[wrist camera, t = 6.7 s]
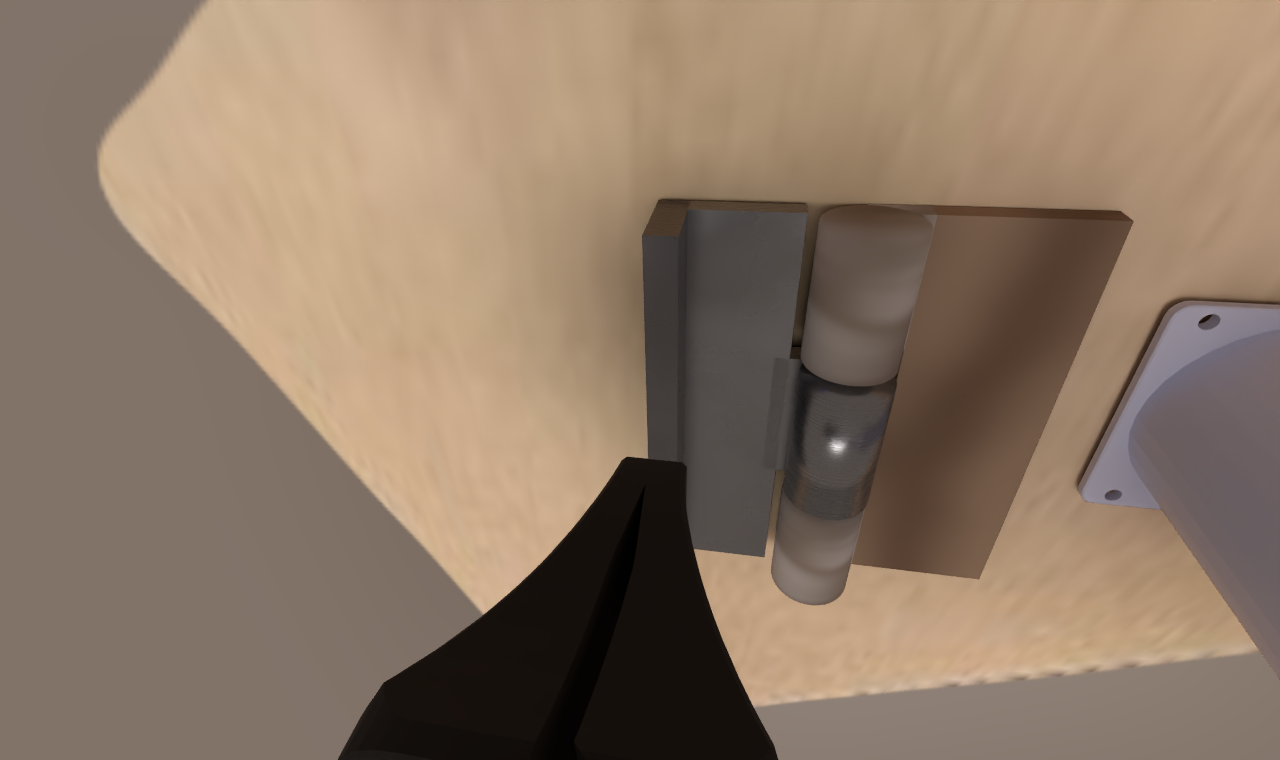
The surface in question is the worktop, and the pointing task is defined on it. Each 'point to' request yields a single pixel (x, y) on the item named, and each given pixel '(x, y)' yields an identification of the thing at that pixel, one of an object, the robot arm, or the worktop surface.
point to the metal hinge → (746, 375)
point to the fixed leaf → (942, 372)
